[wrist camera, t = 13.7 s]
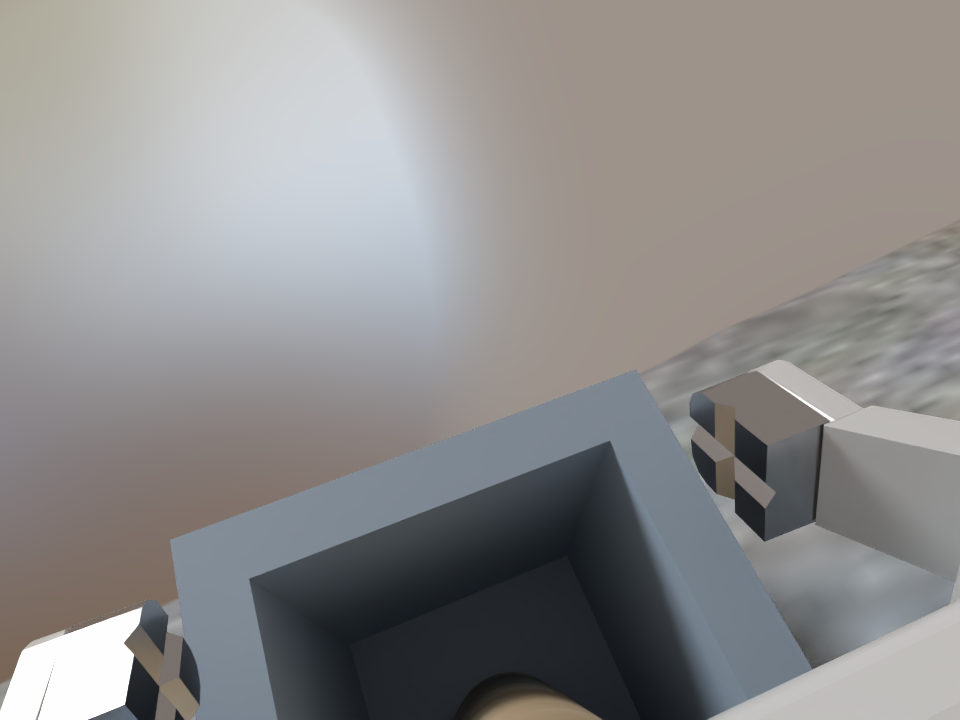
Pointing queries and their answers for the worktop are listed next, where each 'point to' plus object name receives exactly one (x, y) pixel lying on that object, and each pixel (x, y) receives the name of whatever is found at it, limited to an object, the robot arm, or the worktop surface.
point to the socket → (488, 579)
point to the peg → (519, 701)
